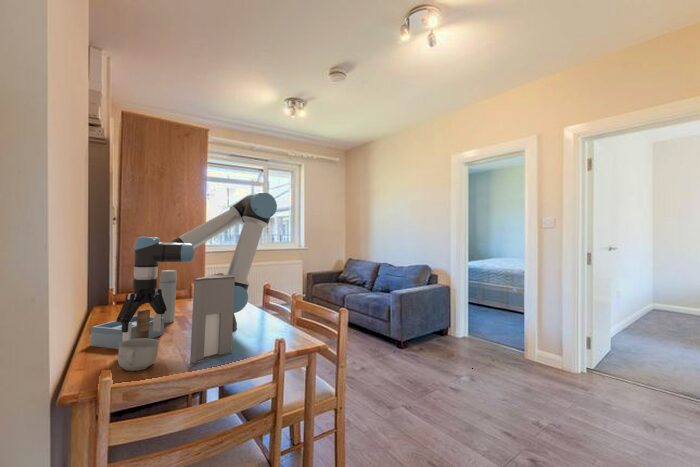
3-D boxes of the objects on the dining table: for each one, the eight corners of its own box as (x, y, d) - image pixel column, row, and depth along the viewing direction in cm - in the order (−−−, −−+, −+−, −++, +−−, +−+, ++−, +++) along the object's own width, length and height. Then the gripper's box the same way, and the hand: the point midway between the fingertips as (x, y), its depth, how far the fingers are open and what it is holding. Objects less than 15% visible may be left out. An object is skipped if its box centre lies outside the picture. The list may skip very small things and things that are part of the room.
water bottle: (169, 324, 153) (172, 271, 154) (153, 323, 153) (156, 271, 154) (180, 319, 162) (182, 270, 163) (164, 319, 162) (167, 269, 163)
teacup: (130, 360, 107) (131, 336, 107) (164, 361, 108) (165, 337, 108) (101, 378, 93) (103, 350, 93) (140, 378, 94) (142, 351, 94)
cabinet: (215, 344, 127) (219, 273, 127) (240, 345, 127) (243, 274, 127) (189, 364, 106) (194, 279, 106) (219, 365, 106) (223, 280, 107)
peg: (150, 347, 120) (152, 310, 121) (141, 351, 116) (144, 312, 117) (141, 346, 121) (143, 309, 121) (132, 350, 117) (134, 311, 118)
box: (163, 334, 137) (164, 317, 137) (122, 349, 117) (123, 330, 118) (135, 331, 140) (136, 315, 140) (90, 345, 120) (91, 326, 120)
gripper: (162, 274, 132) (159, 326, 132) (105, 281, 108) (102, 345, 107) (178, 275, 131) (175, 328, 130) (124, 282, 106) (121, 347, 106)
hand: (142, 335), depth 119 cm, fingers open, 13 cm apart
